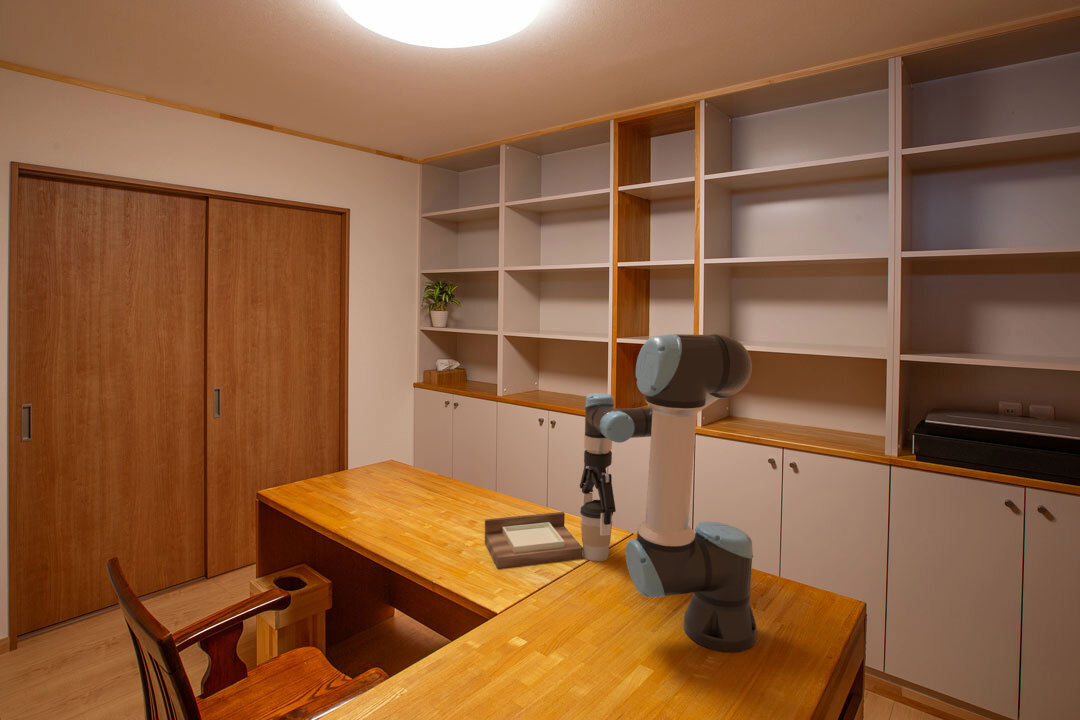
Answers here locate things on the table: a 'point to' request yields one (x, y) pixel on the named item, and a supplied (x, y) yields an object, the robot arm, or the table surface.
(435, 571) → the table surface
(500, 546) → the shelf
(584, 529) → the coffee cup
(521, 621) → the table surface
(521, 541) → the tray
